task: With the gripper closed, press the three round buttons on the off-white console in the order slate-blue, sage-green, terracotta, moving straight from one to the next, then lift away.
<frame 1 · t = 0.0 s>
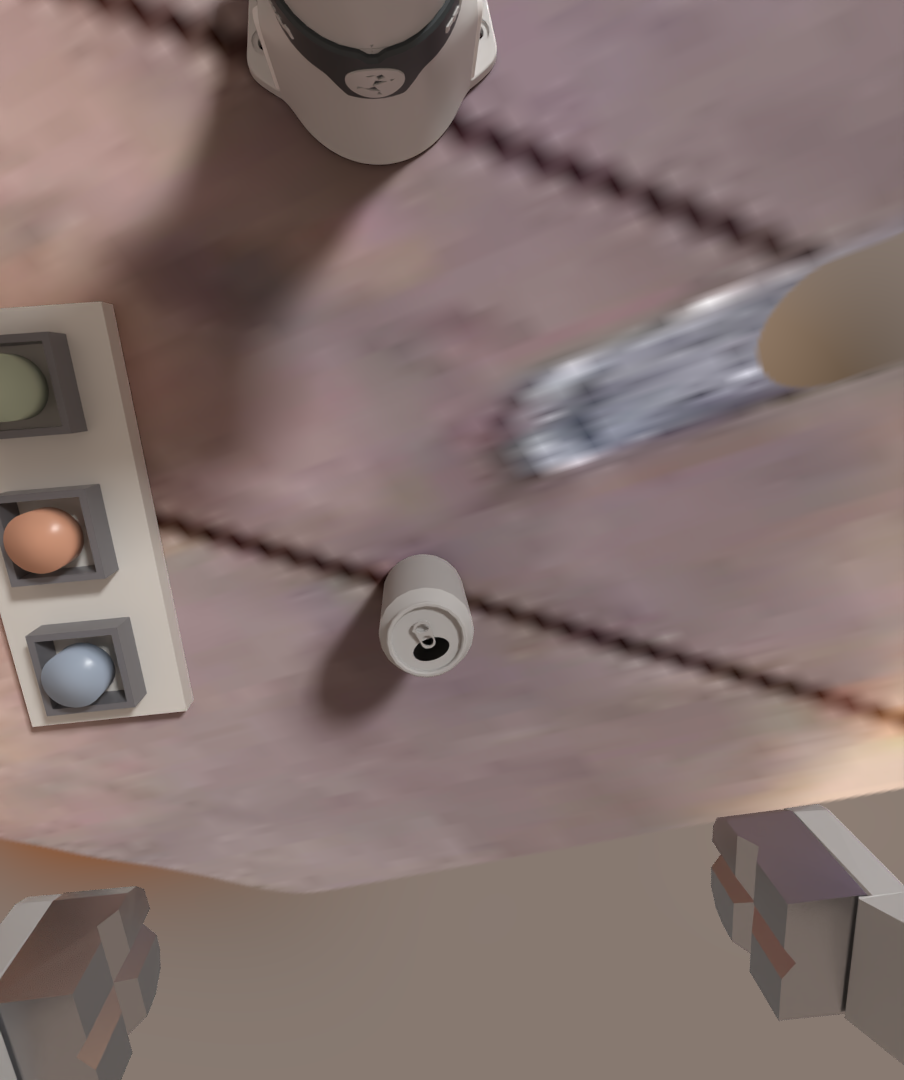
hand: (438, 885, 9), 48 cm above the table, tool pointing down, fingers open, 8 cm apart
slate button: (79, 674, 53), point 5 cm above the table, slide at 0.0 cm
can: (422, 588, 58), on the table
terracotta button: (44, 540, 50), point 5 cm above the table, slide at 0.0 cm
sage button: (5, 387, 47), point 5 cm above the table, slide at 0.0 cm
console: (76, 526, 54), on the table
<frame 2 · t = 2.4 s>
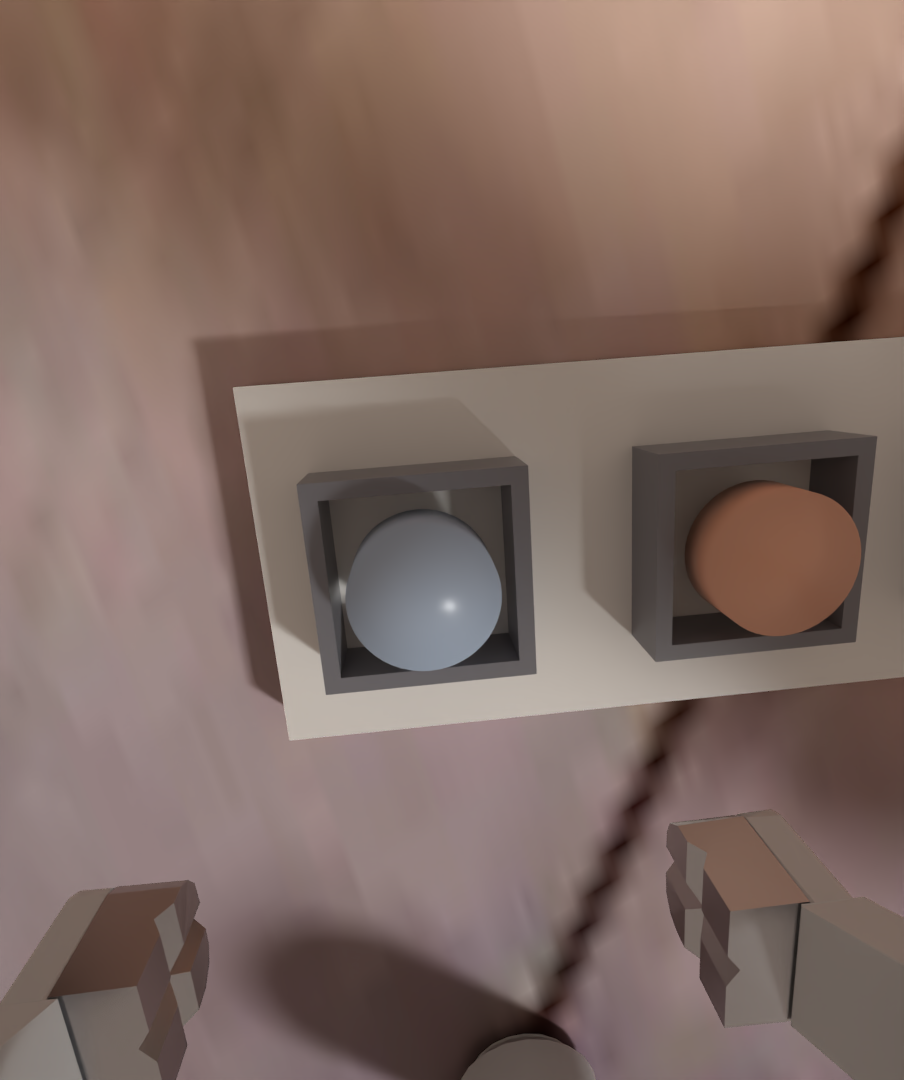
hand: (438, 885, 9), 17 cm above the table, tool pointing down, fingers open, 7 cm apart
slate button: (423, 588, 21), point 5 cm above the table, slide at 0.0 cm
can: (522, 1070, 34), on the table
terracotta button: (768, 556, 21), point 5 cm above the table, slide at 0.0 cm
console: (703, 524, 26), on the table
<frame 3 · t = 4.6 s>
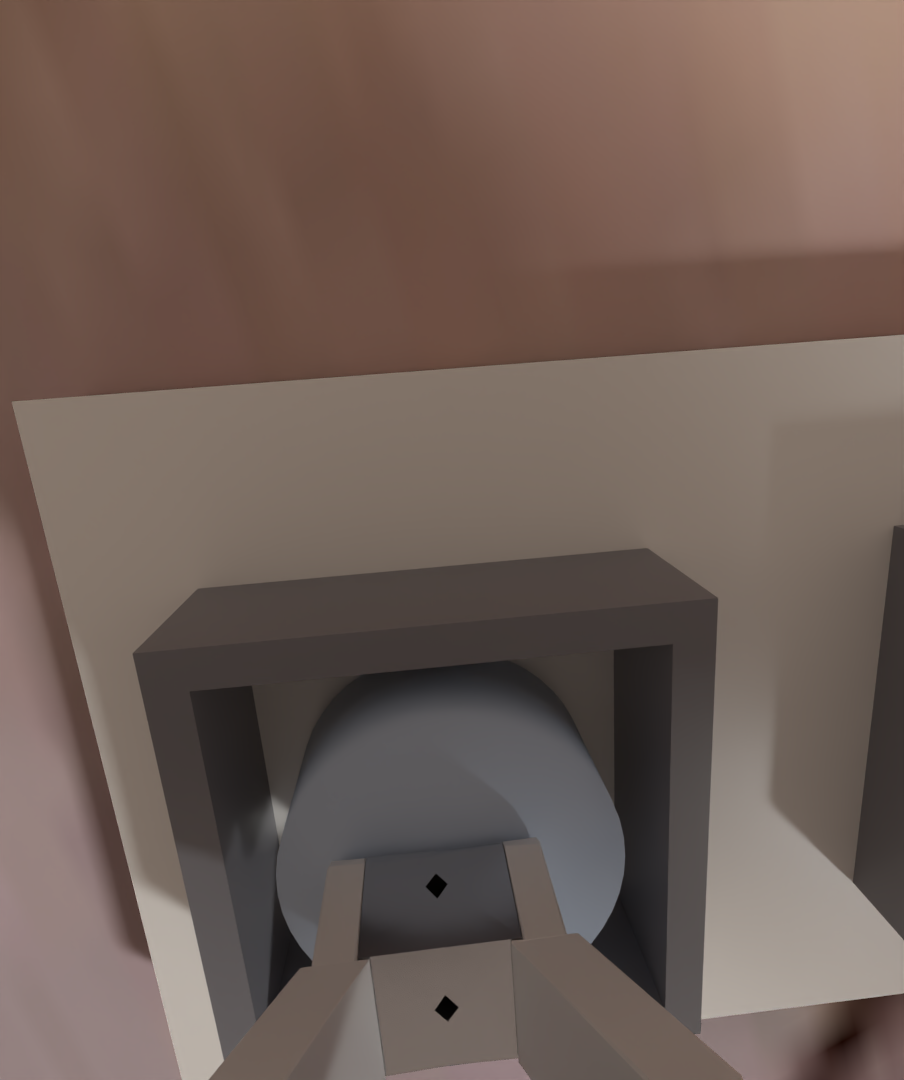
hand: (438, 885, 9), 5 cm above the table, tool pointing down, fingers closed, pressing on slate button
slate button: (448, 821, 10), point 4 cm above the table, slide at 1.4 cm, touching gripper
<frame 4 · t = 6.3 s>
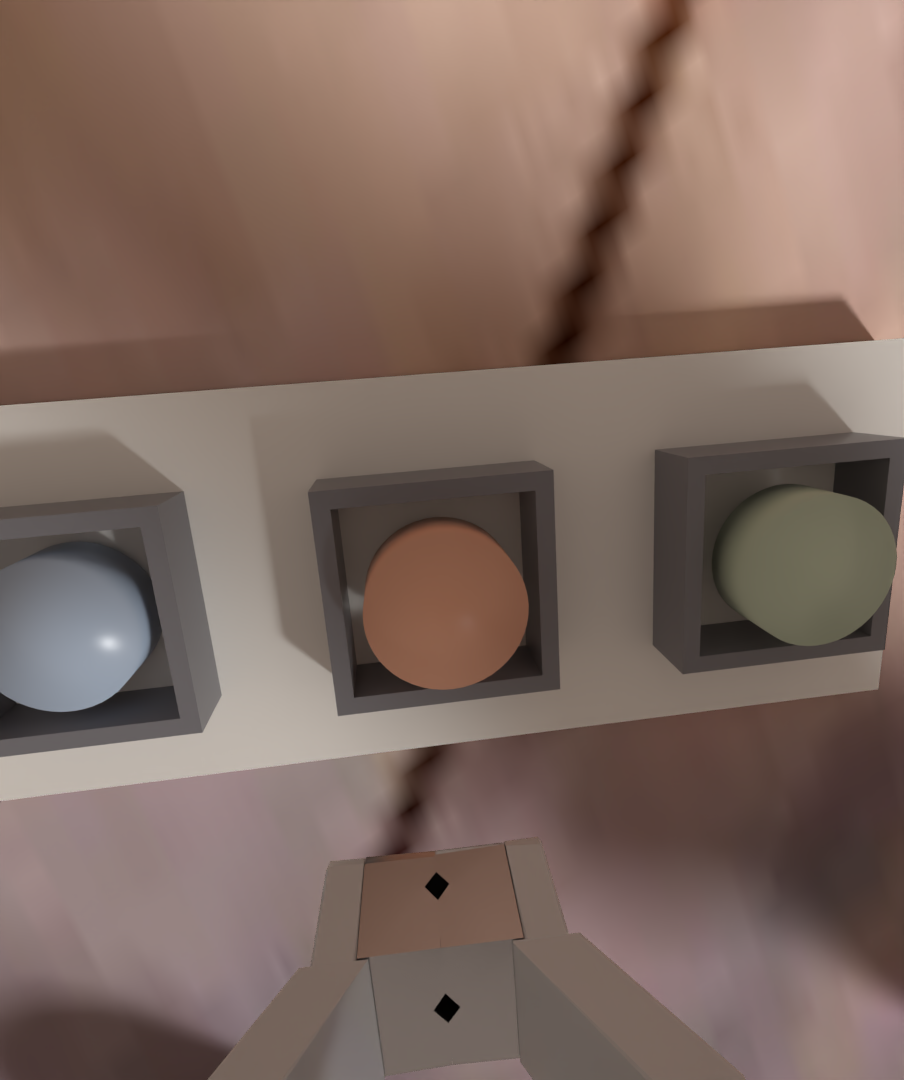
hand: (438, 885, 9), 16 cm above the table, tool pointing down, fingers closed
slate button: (70, 624, 20), point 3 cm above the table, slide at 1.5 cm
terracotta button: (443, 601, 19), point 5 cm above the table, slide at 0.0 cm
sage button: (800, 563, 21), point 5 cm above the table, slide at 0.0 cm
console: (431, 558, 24), on the table
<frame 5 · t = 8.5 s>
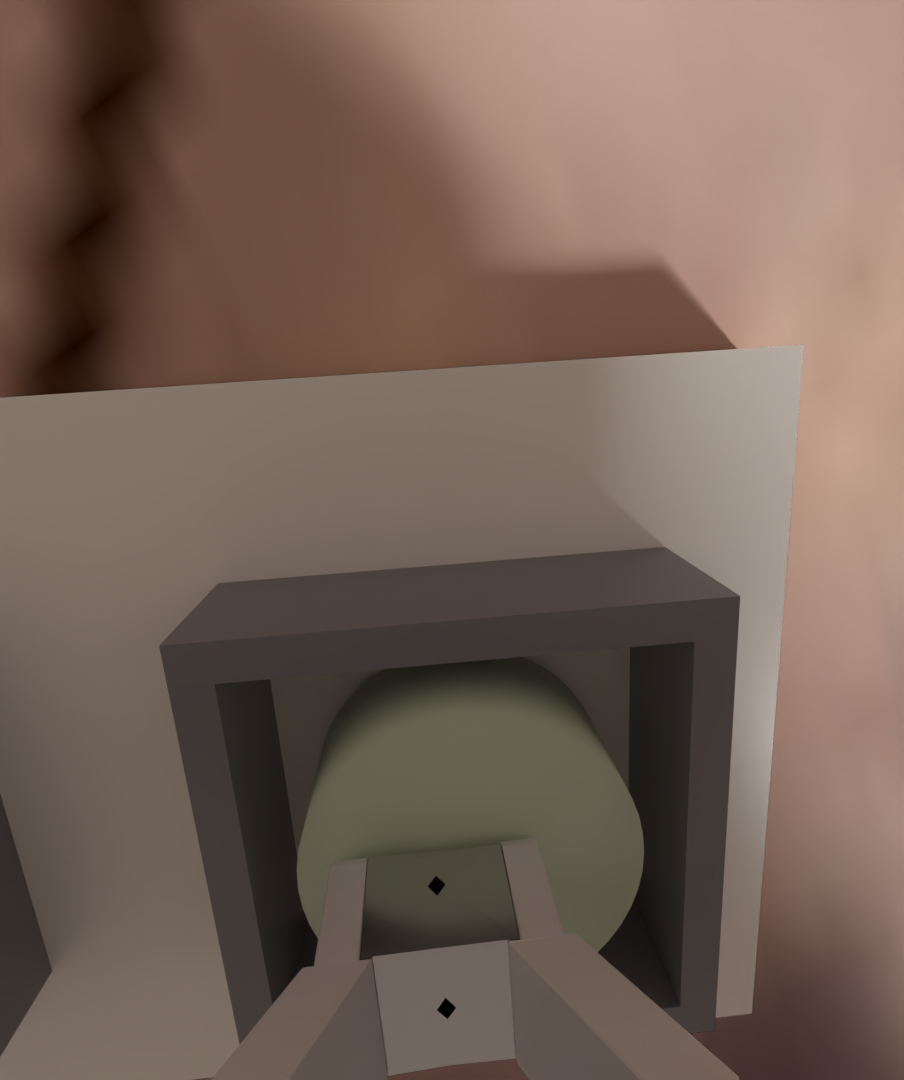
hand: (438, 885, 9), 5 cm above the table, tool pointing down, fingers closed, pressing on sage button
sage button: (466, 818, 10), point 4 cm above the table, slide at 1.4 cm, touching gripper
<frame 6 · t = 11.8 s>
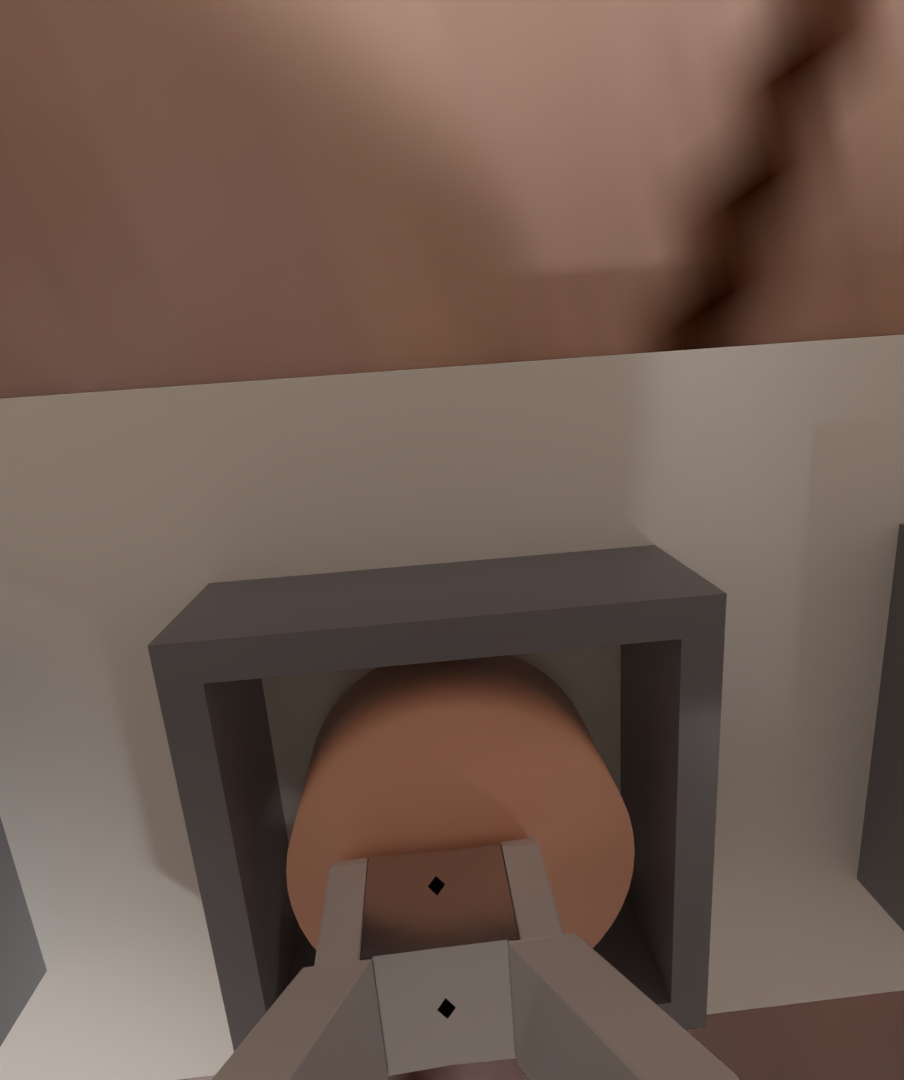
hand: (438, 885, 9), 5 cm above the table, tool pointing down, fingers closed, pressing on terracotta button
terracotta button: (457, 818, 10), point 4 cm above the table, slide at 1.3 cm, touching gripper
console: (445, 704, 13), on the table
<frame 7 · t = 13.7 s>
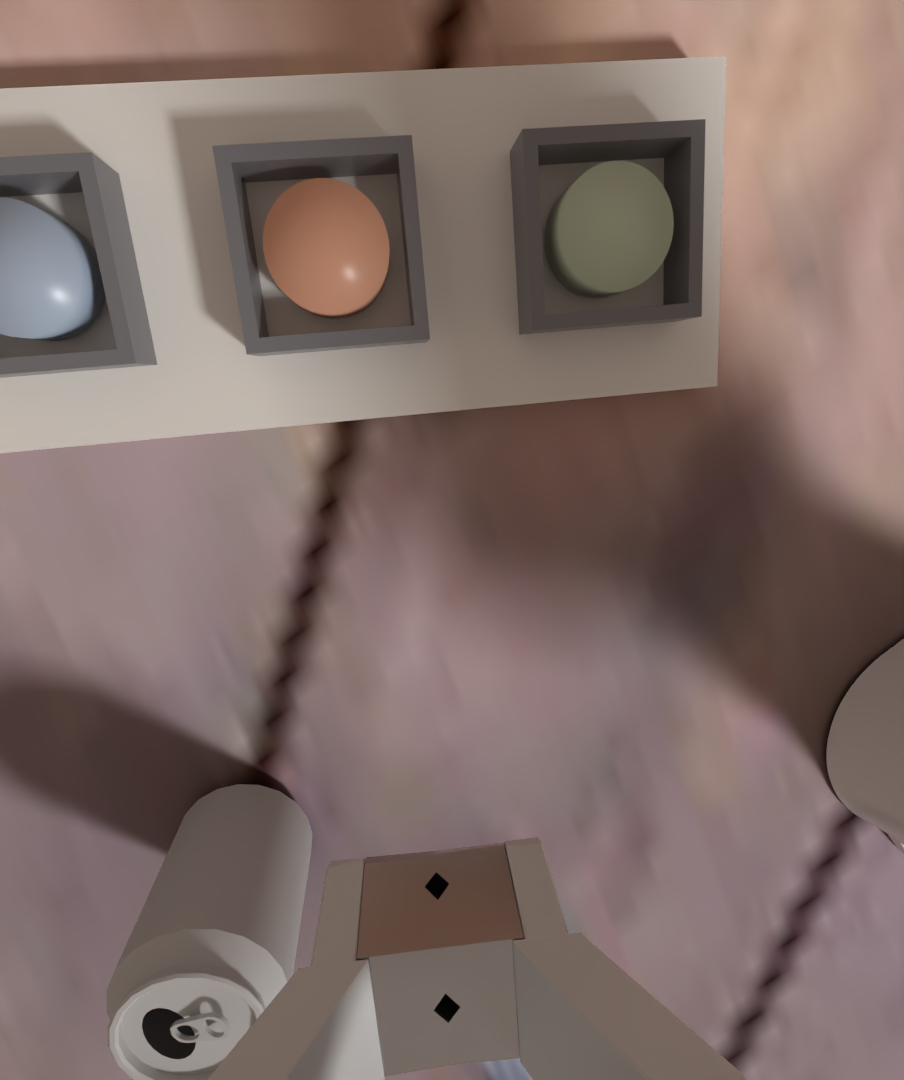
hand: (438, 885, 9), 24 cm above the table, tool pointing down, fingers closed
slate button: (27, 273, 25), point 3 cm above the table, slide at 1.5 cm
can: (249, 827, 36), on the table
terracotta button: (329, 252, 26), point 3 cm above the table, slide at 1.5 cm
sage button: (607, 233, 27), point 3 cm above the table, slide at 1.5 cm
console: (334, 267, 29), on the table
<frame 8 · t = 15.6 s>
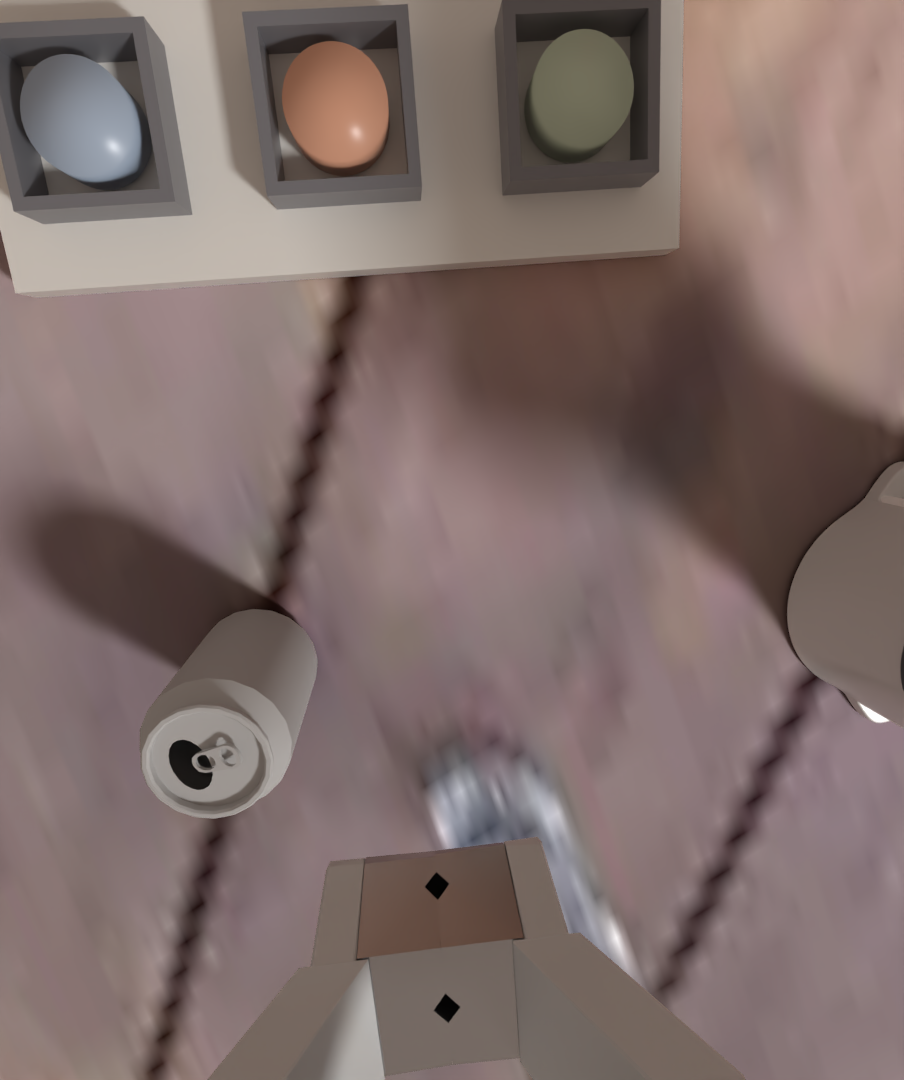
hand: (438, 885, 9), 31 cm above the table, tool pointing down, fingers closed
slate button: (88, 125, 30), point 3 cm above the table, slide at 1.5 cm
can: (263, 655, 41), on the table
terracotta button: (337, 112, 30), point 3 cm above the table, slide at 1.5 cm
sage button: (577, 99, 31), point 3 cm above the table, slide at 1.5 cm
console: (344, 138, 34), on the table
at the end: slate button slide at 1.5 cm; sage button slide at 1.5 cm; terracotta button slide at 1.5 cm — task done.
